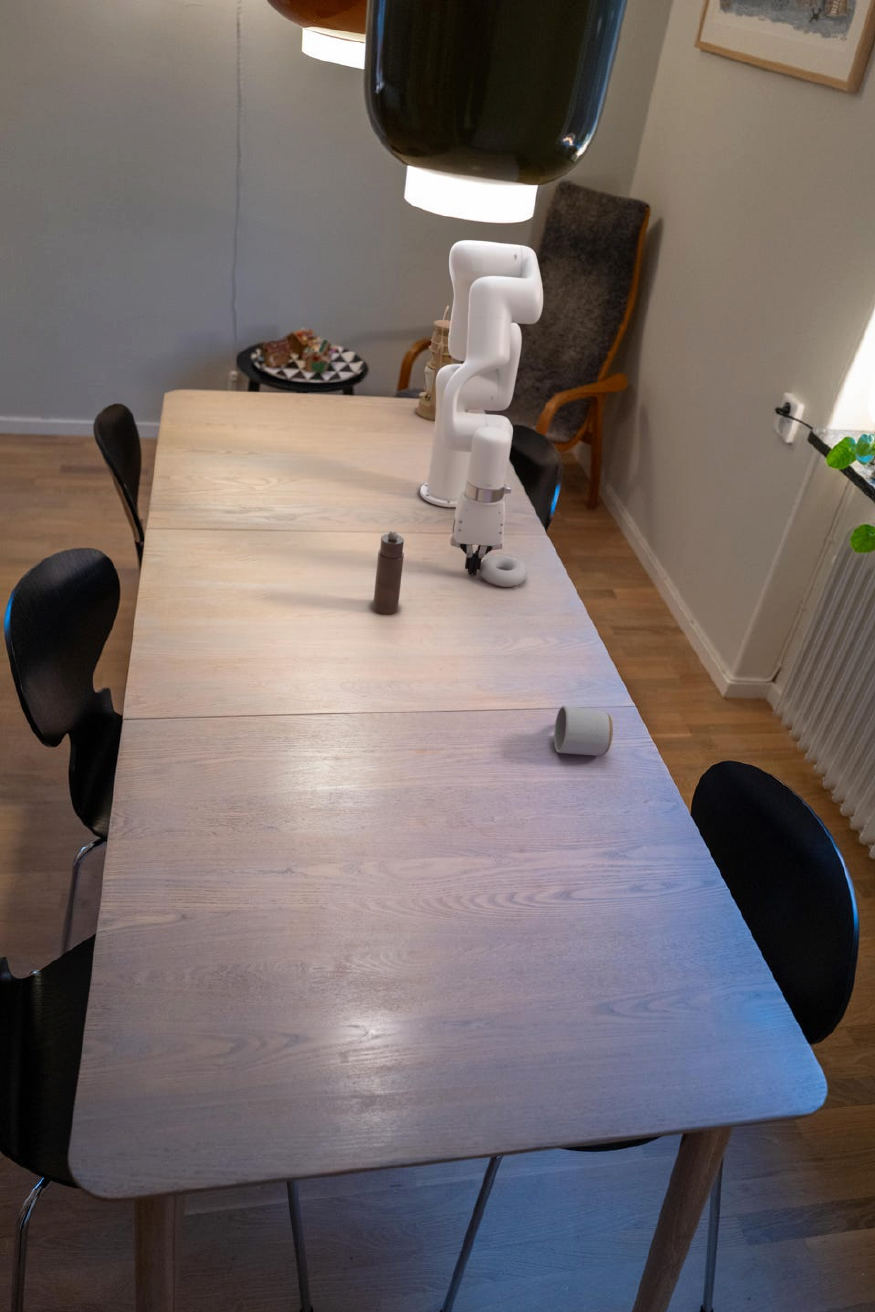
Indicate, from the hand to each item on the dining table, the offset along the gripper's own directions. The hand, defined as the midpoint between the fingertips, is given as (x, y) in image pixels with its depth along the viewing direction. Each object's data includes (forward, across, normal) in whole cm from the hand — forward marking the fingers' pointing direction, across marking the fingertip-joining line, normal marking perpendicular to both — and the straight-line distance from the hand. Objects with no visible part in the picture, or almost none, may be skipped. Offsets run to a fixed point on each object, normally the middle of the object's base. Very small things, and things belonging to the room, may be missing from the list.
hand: (471, 571), depth 207 cm
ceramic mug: (+2, -12, +54) cm, 55 cm away
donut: (+1, -6, 0) cm, 7 cm away
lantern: (0, +1, -93) cm, 93 cm away
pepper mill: (+1, +18, +15) cm, 24 cm away
